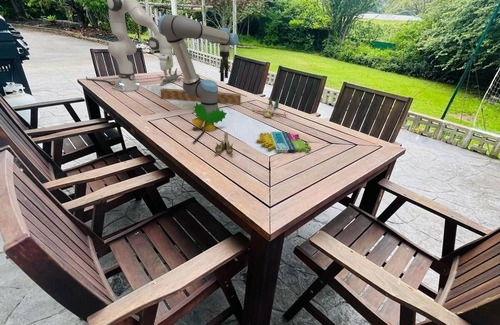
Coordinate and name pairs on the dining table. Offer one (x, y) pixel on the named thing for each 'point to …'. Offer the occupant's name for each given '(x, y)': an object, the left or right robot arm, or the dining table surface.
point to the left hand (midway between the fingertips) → (168, 74)
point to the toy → (270, 109)
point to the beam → (181, 95)
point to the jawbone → (224, 145)
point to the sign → (283, 142)
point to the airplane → (170, 78)
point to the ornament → (207, 117)
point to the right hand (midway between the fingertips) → (224, 79)
